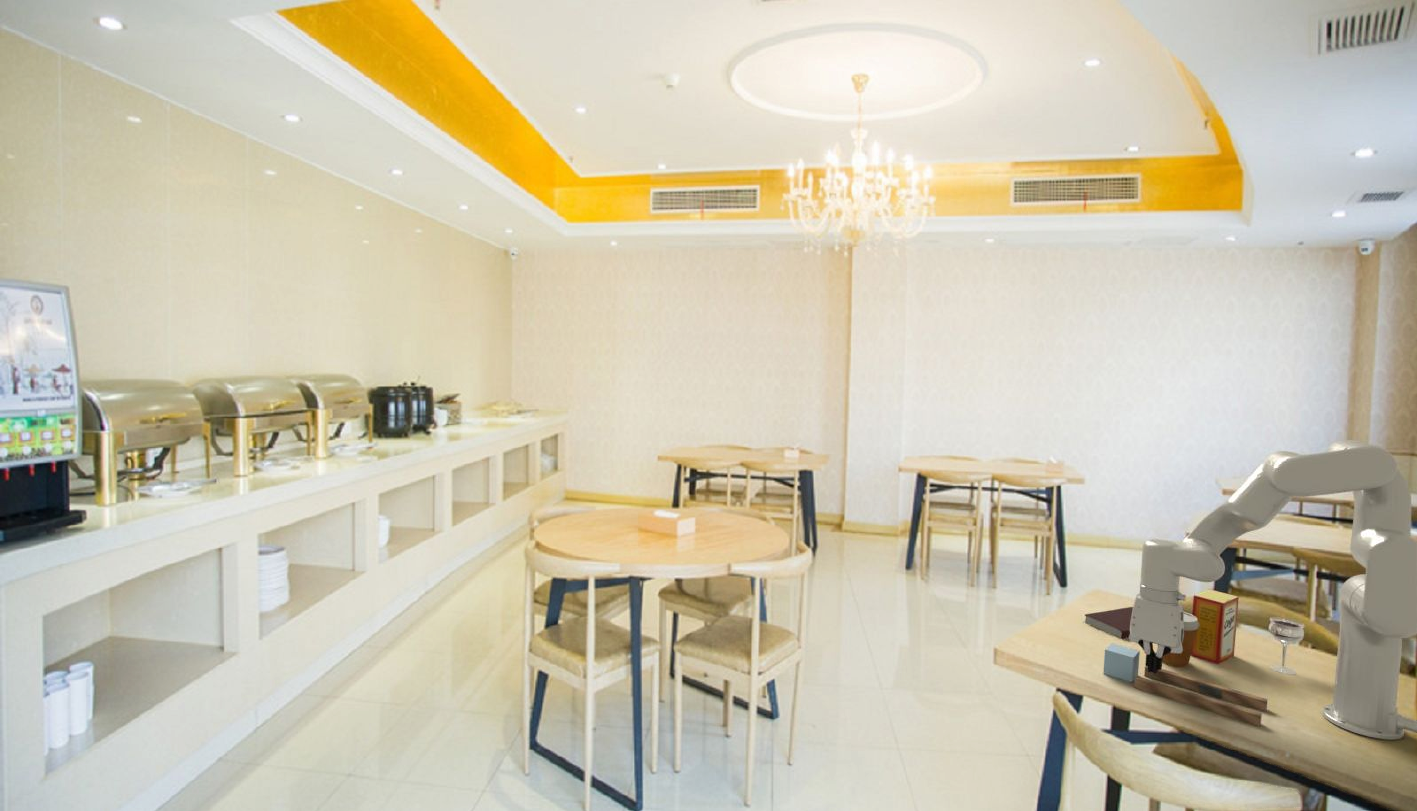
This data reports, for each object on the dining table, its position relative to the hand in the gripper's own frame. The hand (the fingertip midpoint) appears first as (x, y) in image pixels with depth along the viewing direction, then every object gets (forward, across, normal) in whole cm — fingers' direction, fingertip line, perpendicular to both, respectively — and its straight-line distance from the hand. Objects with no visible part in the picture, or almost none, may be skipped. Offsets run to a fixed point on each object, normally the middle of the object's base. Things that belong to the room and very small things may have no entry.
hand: (1153, 670), depth 164 cm
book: (+4, +14, -35) cm, 38 cm away
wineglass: (+3, -20, -33) cm, 39 cm away
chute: (+3, -9, 0) cm, 10 cm away
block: (+3, +7, 0) cm, 7 cm away
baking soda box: (+3, -6, -30) cm, 31 cm away
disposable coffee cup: (+3, 0, -18) cm, 18 cm away
